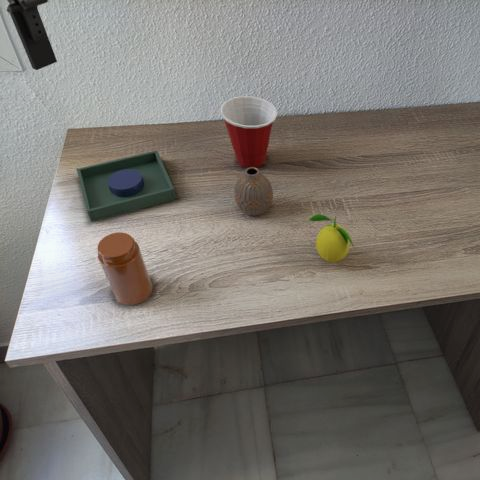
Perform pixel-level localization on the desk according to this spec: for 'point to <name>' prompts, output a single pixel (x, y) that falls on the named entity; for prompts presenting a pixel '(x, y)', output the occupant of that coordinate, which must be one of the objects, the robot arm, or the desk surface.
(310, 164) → the desk surface
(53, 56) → the robot arm
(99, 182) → the tray
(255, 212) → the vase
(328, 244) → the lemon
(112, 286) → the jam jar
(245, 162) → the plastic cup
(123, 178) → the jar lid
